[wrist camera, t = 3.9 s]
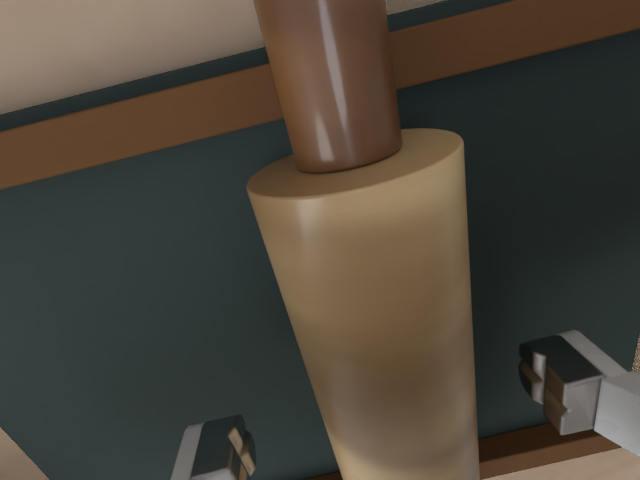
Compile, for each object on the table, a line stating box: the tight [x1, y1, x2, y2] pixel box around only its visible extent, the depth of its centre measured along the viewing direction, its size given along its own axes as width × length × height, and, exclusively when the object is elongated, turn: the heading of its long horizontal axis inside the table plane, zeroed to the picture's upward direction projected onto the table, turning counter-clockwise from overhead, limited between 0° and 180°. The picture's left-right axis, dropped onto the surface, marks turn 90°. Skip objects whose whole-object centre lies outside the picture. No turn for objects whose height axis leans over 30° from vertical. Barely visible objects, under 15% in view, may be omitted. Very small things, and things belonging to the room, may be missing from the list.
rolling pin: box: [246, 0, 480, 480], centre depth 10 cm, size 4×23×4 cm, turn 13°
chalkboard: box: [0, 0, 640, 480], centre depth 12 cm, size 24×18×2 cm
